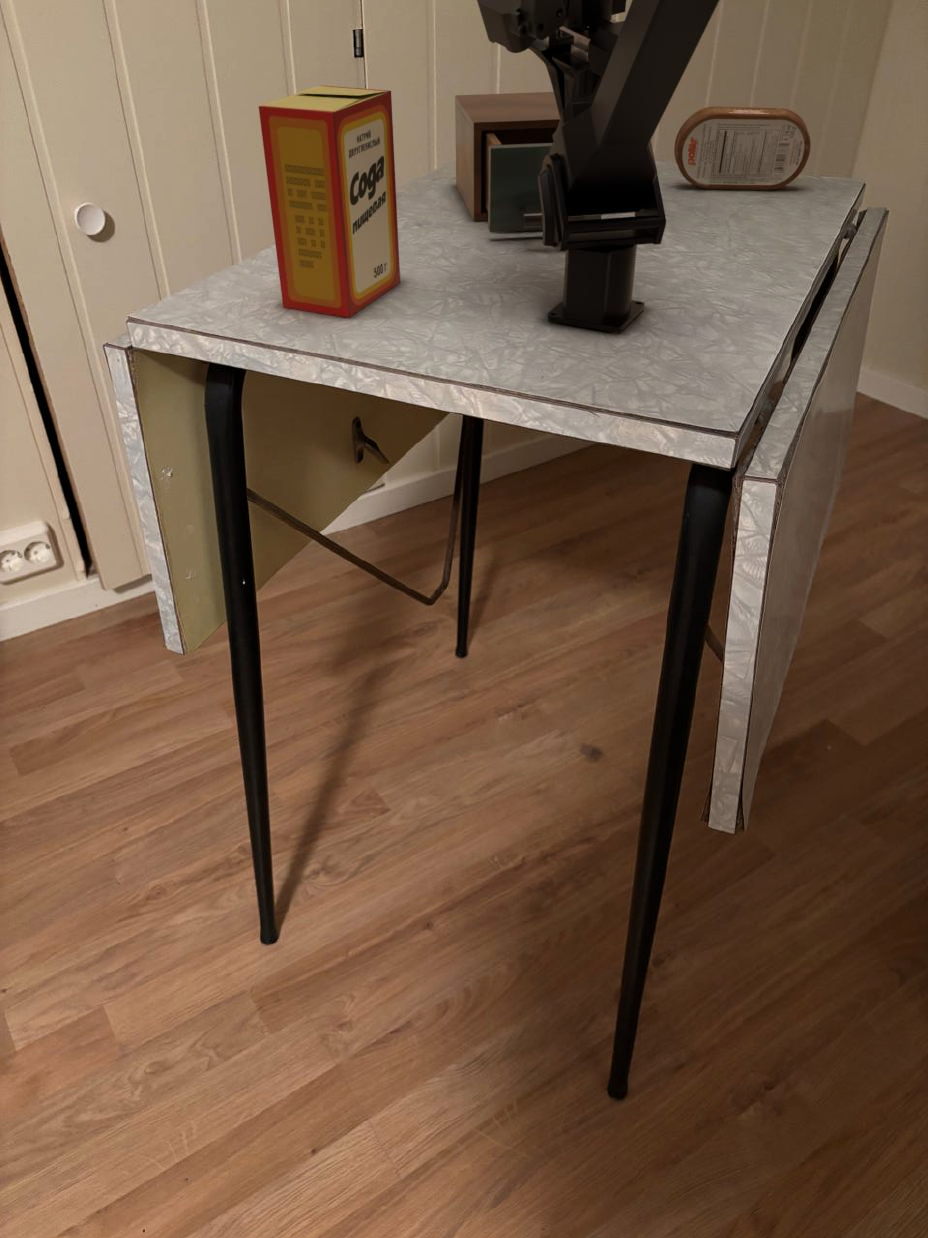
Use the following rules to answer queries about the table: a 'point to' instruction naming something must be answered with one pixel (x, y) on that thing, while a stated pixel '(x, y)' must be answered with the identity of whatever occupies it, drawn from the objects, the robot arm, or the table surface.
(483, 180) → the drawer
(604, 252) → the robot arm
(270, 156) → the baking soda box
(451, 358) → the table surface
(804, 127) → the tin
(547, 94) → the cabinet
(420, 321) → the table surface
